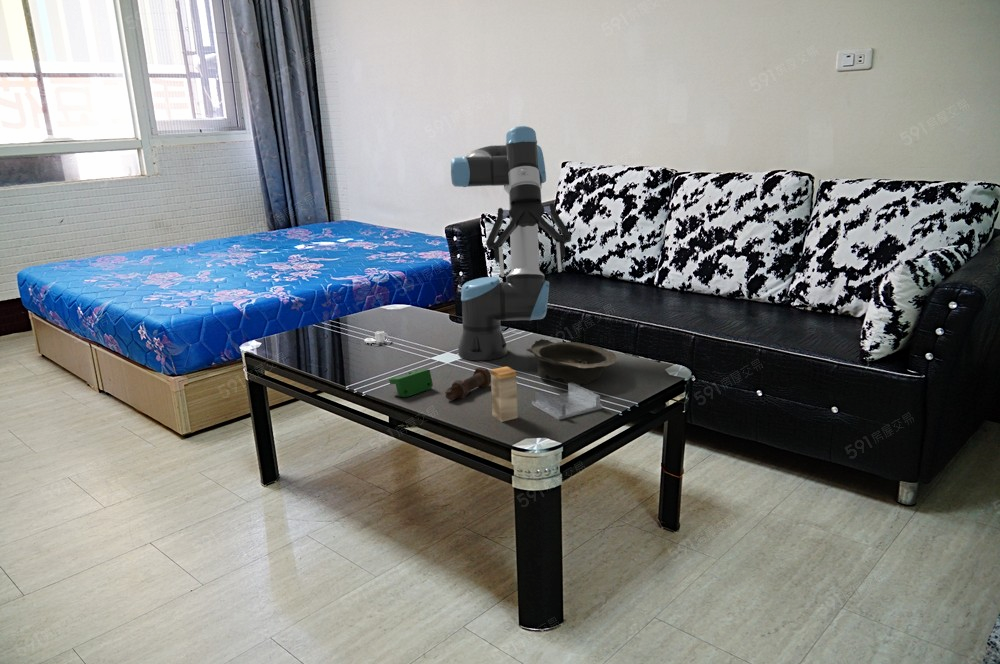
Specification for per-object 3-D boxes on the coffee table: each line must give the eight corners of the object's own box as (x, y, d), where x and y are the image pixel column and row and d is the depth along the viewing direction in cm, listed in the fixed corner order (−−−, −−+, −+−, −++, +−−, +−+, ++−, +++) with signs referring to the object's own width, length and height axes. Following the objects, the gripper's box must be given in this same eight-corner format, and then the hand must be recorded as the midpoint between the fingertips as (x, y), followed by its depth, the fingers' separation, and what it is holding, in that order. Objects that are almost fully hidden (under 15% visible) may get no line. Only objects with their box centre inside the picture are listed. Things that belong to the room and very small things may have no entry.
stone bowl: (510, 379, 209) (510, 347, 207) (563, 362, 227) (564, 332, 225) (583, 396, 193) (584, 362, 191) (633, 377, 211) (635, 345, 209)
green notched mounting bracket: (418, 400, 207) (422, 370, 208) (430, 401, 203) (434, 370, 204) (384, 395, 200) (388, 364, 201) (396, 395, 196) (400, 363, 197)
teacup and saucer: (361, 345, 247) (360, 333, 246) (377, 339, 253) (376, 327, 252) (381, 349, 242) (380, 336, 241) (397, 342, 249) (396, 330, 248)
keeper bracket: (532, 404, 190) (531, 391, 189) (574, 394, 196) (574, 381, 195) (558, 419, 180) (558, 406, 179) (602, 408, 186) (602, 395, 185)
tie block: (492, 416, 184) (490, 369, 181) (508, 412, 186) (506, 366, 183) (501, 422, 180) (499, 374, 177) (517, 417, 182) (516, 371, 179)
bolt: (447, 408, 195) (482, 388, 207) (460, 402, 192) (495, 383, 203) (437, 388, 195) (473, 369, 207) (450, 382, 192) (485, 363, 203)
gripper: (472, 187, 178) (476, 272, 174) (576, 178, 177) (584, 263, 172) (475, 199, 186) (480, 281, 181) (576, 190, 184) (583, 273, 179)
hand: (531, 272), depth 177 cm, fingers open, 13 cm apart
